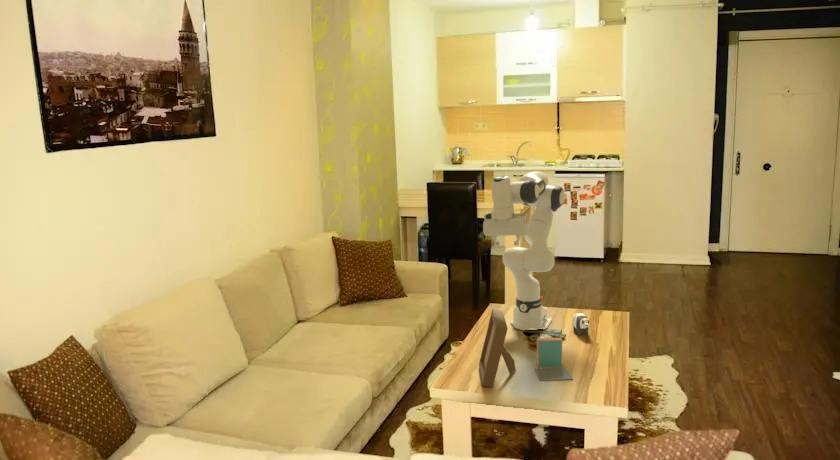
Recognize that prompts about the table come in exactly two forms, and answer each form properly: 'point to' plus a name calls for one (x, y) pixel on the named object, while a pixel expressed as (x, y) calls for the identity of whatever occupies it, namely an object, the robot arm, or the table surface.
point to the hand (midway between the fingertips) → (506, 245)
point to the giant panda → (580, 323)
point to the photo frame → (494, 349)
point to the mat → (553, 374)
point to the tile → (549, 352)
